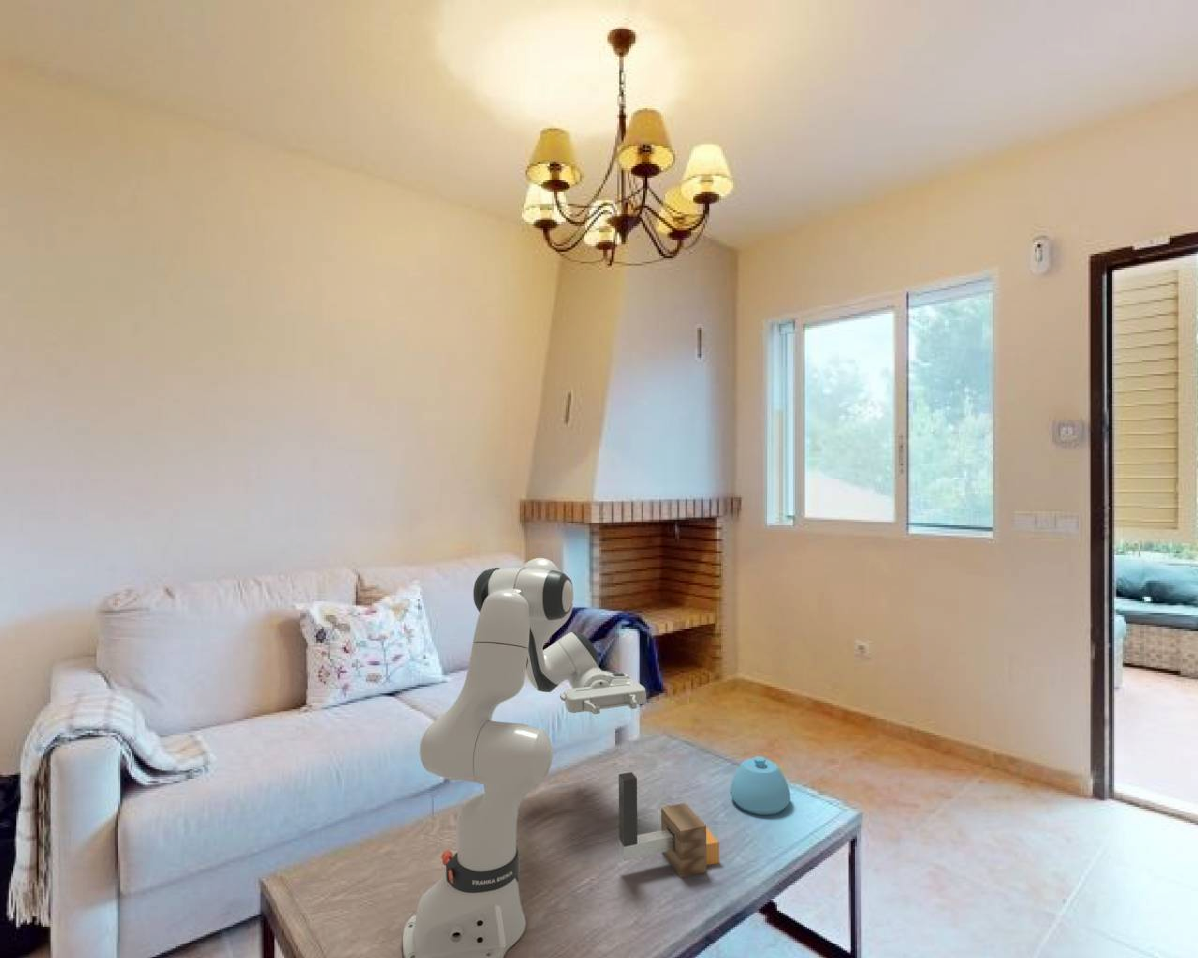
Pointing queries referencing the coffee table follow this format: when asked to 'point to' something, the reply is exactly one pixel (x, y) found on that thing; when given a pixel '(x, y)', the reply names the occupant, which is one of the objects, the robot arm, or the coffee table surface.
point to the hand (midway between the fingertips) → (615, 708)
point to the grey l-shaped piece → (628, 837)
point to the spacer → (711, 848)
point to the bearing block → (685, 839)
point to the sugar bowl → (760, 787)
